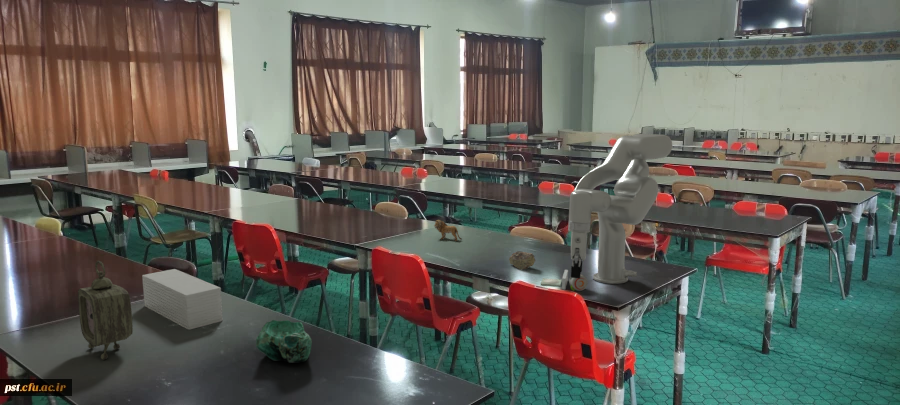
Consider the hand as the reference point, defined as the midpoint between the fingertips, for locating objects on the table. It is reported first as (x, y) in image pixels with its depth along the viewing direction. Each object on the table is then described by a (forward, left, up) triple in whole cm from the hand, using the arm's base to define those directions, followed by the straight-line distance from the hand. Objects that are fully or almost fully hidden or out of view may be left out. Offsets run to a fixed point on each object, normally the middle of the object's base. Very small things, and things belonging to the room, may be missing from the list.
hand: (576, 274), depth 227 cm
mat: (+9, -7, -6) cm, 13 cm away
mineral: (+69, +80, -6) cm, 106 cm away
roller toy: (-1, -1, -6) cm, 6 cm away
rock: (+23, -26, -6) cm, 35 cm away
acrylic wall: (+4, -6, -6) cm, 9 cm away
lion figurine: (+65, -71, -6) cm, 96 cm away
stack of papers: (+119, +55, -6) cm, 132 cm away
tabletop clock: (+118, +87, -6) cm, 147 cm away
